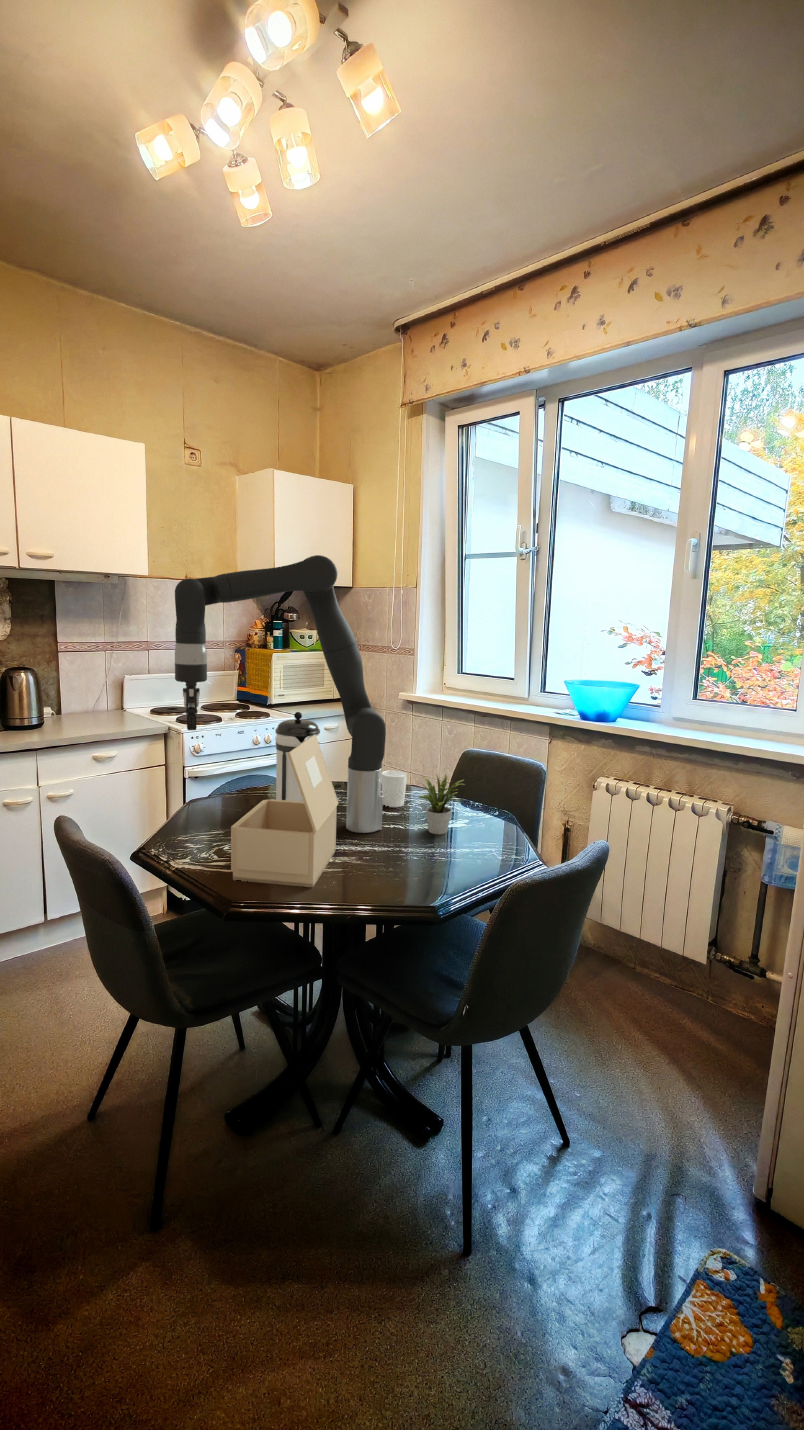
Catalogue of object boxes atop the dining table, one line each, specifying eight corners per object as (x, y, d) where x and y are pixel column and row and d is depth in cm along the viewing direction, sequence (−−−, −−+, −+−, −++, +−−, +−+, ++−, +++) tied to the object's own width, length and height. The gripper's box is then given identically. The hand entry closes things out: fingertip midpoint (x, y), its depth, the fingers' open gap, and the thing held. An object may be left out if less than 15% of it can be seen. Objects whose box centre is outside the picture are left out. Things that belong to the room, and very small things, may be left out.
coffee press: (334, 810, 195) (336, 711, 191) (298, 823, 182) (300, 717, 177) (291, 799, 205) (292, 705, 200) (254, 811, 191) (254, 710, 186)
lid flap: (336, 803, 160) (339, 803, 160) (314, 832, 139) (317, 831, 139) (313, 735, 158) (316, 734, 158) (287, 753, 137) (290, 752, 137)
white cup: (387, 809, 199) (388, 777, 197) (376, 802, 206) (377, 771, 204) (410, 806, 202) (411, 775, 201) (398, 799, 209) (399, 769, 208)
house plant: (469, 842, 173) (473, 782, 170) (418, 841, 172) (420, 781, 169) (460, 824, 187) (464, 769, 184) (413, 823, 186) (415, 768, 183)
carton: (335, 850, 163) (337, 804, 161) (312, 888, 140) (313, 835, 138) (264, 844, 165) (264, 798, 163) (229, 881, 142) (229, 828, 140)
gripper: (207, 664, 154) (208, 731, 156) (206, 659, 167) (206, 721, 170) (174, 664, 151) (175, 732, 154) (175, 659, 165) (176, 722, 167)
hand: (191, 726), depth 162 cm, fingers open, 8 cm apart
